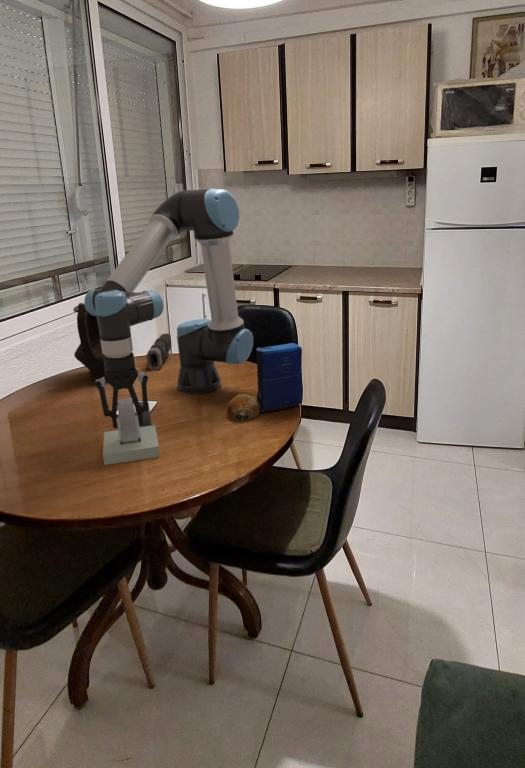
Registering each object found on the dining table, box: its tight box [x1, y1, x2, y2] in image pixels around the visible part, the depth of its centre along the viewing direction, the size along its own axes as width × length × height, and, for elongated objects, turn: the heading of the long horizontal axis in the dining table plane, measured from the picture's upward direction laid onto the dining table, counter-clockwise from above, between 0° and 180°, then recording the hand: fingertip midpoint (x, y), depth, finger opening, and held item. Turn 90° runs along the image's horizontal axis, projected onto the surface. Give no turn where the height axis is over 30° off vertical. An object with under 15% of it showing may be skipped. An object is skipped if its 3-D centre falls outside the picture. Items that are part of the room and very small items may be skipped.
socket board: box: [102, 424, 161, 466], centre depth 149 cm, size 14×14×3 cm
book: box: [255, 342, 303, 413], centre depth 168 cm, size 14×5×20 cm, turn 113°
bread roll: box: [226, 393, 261, 422], centre depth 167 cm, size 10×10×8 cm
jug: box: [73, 302, 105, 381], centre depth 201 cm, size 21×18×30 cm
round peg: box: [134, 400, 152, 427], centre depth 160 cm, size 4×4×8 cm
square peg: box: [117, 397, 139, 444], centre depth 147 cm, size 4×4×12 cm
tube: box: [145, 333, 172, 372], centre depth 224 cm, size 11×7×30 cm
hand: (130, 436), depth 148 cm, fingers closed on square peg, 4 cm apart
